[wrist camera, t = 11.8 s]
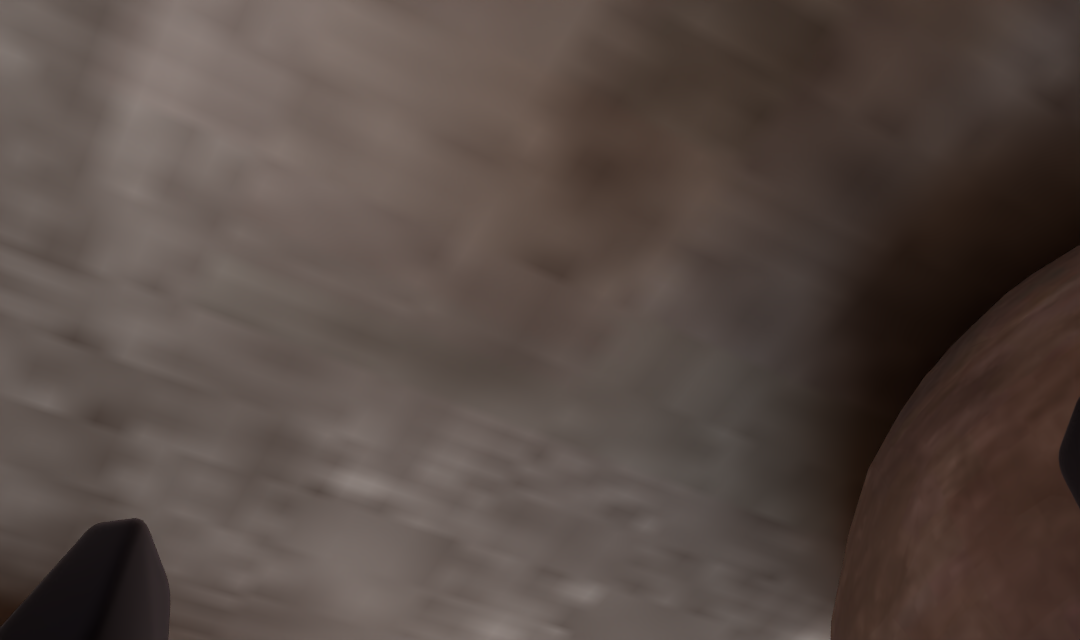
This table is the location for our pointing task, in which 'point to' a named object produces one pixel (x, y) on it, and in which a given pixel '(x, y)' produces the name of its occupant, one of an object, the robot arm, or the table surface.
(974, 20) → the table surface
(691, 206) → the table surface
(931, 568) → the bowl
